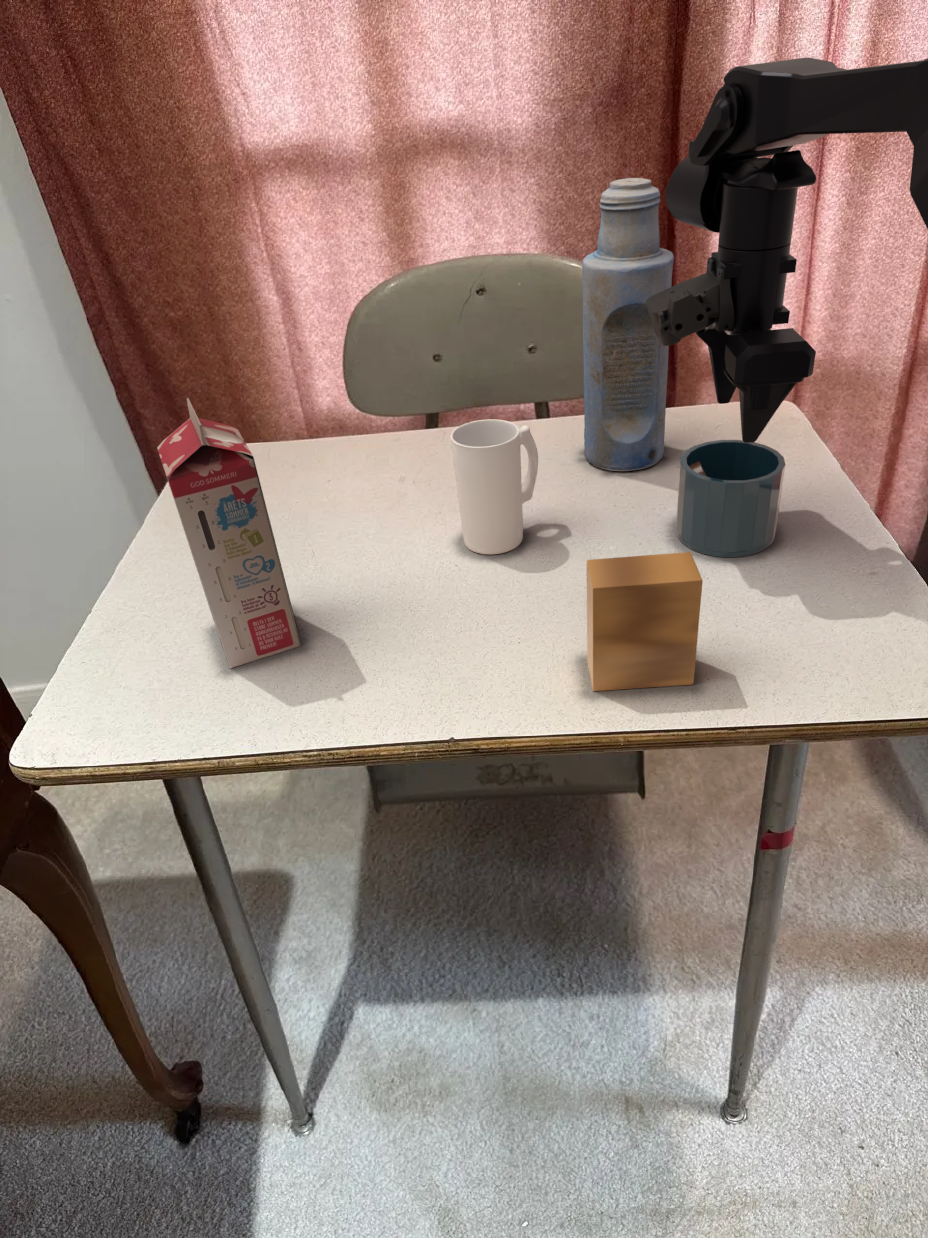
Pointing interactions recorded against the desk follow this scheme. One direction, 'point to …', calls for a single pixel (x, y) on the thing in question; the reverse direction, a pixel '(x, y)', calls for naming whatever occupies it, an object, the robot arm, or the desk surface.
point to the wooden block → (642, 621)
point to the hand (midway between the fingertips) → (735, 421)
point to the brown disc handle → (697, 468)
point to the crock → (729, 498)
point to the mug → (492, 482)
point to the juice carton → (230, 538)
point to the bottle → (625, 331)
